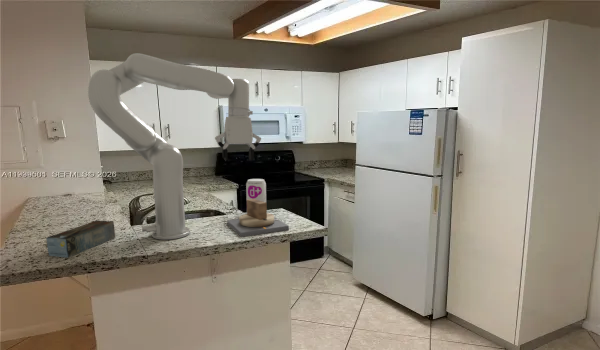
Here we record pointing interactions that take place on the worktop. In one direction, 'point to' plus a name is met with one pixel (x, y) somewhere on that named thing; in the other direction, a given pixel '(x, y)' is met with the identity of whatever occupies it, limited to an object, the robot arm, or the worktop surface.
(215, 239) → the worktop surface
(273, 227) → the dial base
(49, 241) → the beverage carton
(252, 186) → the supplement can
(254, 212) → the dial
